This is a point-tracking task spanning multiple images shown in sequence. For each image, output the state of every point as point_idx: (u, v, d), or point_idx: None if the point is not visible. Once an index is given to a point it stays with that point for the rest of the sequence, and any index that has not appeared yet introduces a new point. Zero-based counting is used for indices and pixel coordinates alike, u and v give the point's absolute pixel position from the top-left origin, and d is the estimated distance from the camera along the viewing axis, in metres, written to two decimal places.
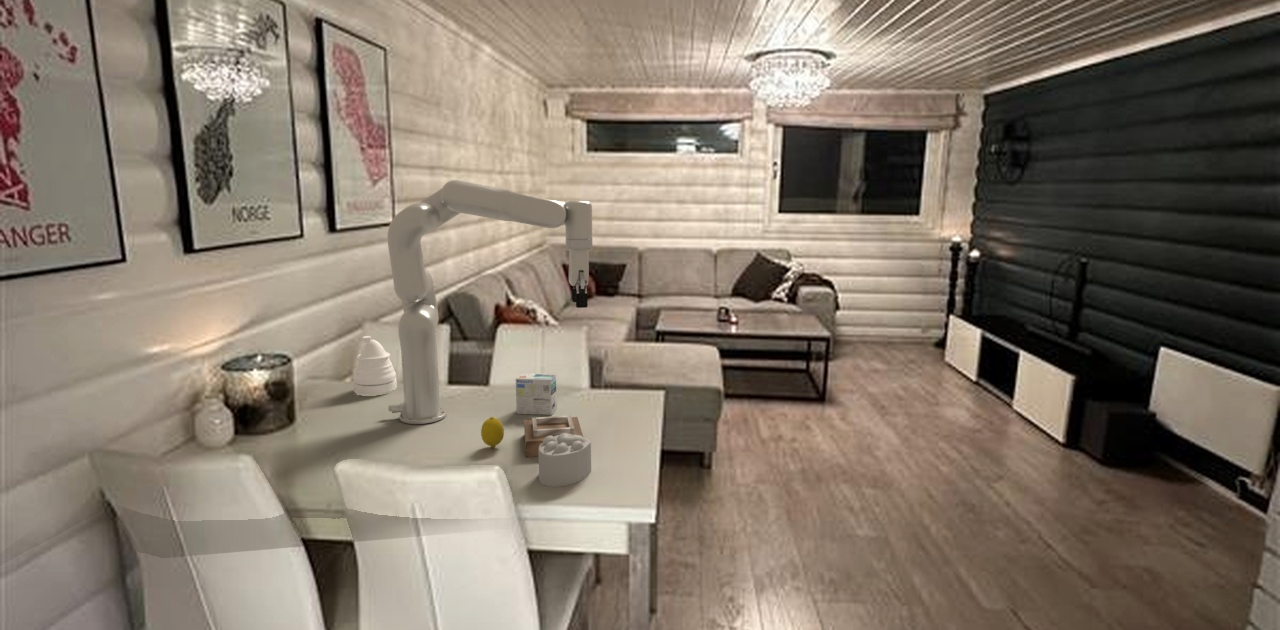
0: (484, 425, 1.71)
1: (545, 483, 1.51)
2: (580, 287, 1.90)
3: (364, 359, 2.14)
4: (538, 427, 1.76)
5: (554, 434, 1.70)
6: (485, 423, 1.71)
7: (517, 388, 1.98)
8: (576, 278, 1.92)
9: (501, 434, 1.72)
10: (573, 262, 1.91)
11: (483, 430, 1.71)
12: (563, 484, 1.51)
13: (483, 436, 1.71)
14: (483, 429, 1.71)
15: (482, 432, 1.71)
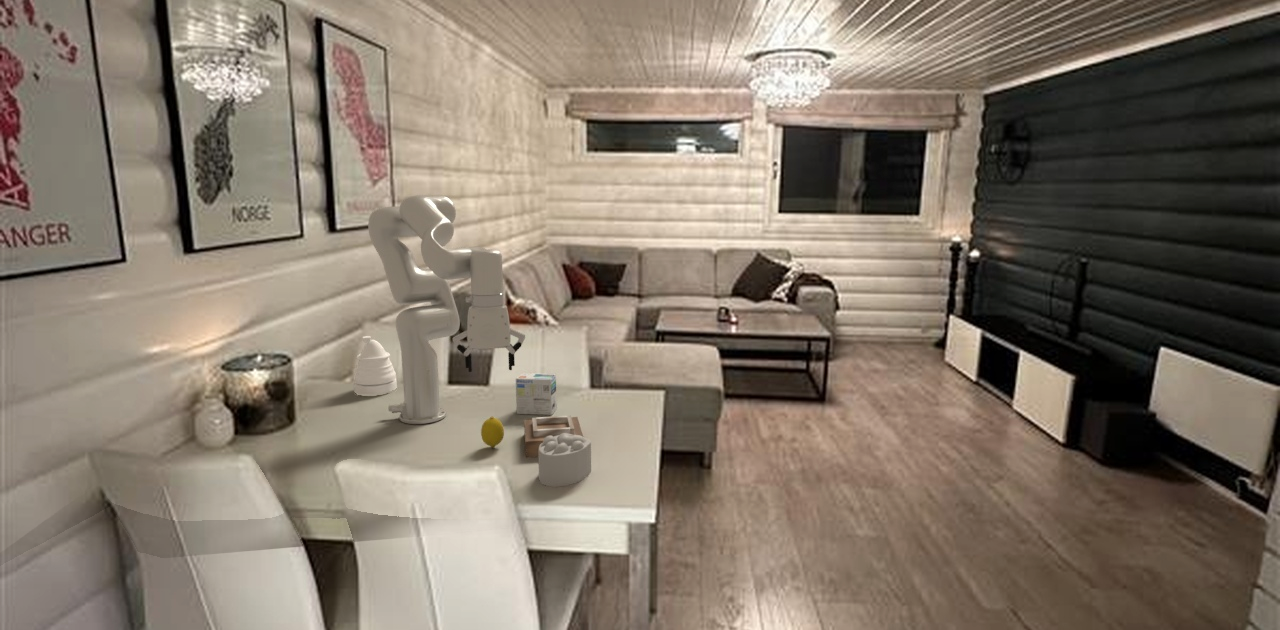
0: (484, 425, 1.71)
1: (545, 483, 1.51)
2: (521, 344, 1.69)
3: (364, 359, 2.14)
4: (538, 427, 1.76)
5: (554, 434, 1.70)
6: (485, 423, 1.71)
7: (517, 388, 1.98)
8: (510, 337, 1.68)
9: (501, 434, 1.72)
10: (507, 320, 1.66)
11: (483, 430, 1.71)
12: (563, 484, 1.51)
13: (483, 436, 1.71)
14: (483, 429, 1.71)
15: (482, 432, 1.71)
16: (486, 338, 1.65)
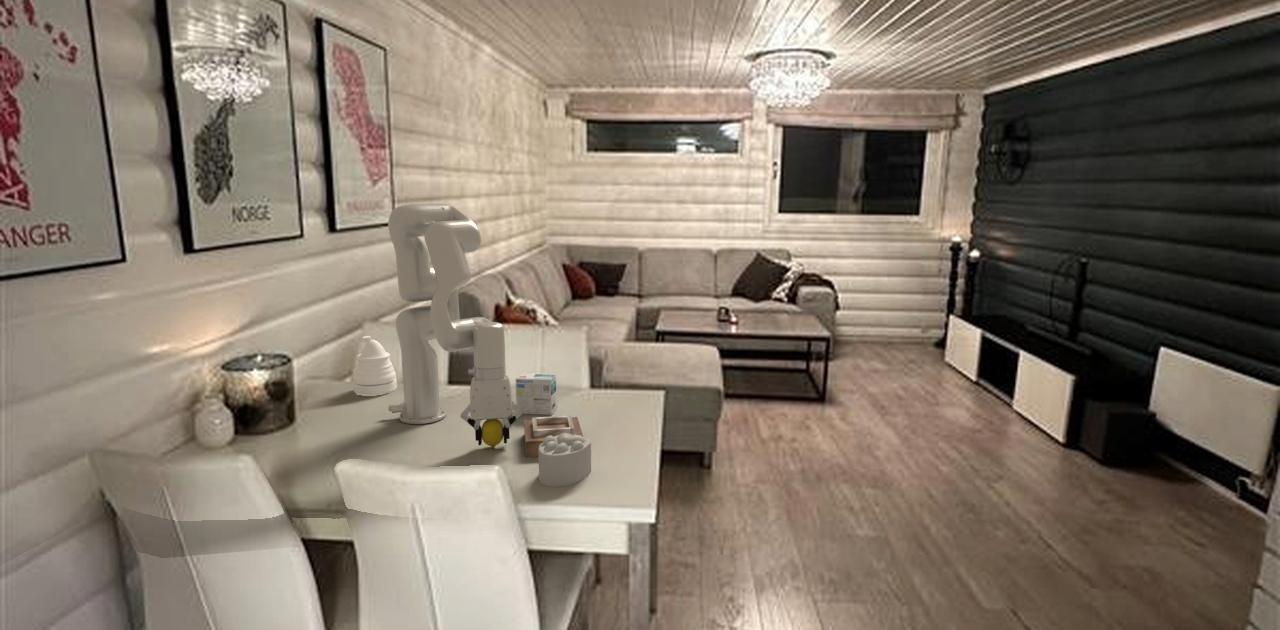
0: (484, 425, 1.71)
1: (545, 483, 1.51)
2: (515, 419, 1.72)
3: (364, 359, 2.14)
4: (538, 427, 1.76)
5: (554, 434, 1.70)
6: (485, 423, 1.71)
7: (517, 388, 1.98)
8: None
9: (501, 434, 1.72)
10: (510, 391, 1.69)
11: (483, 430, 1.71)
12: (563, 484, 1.51)
13: (483, 436, 1.71)
14: (483, 429, 1.71)
15: (482, 432, 1.71)
16: (488, 409, 1.69)
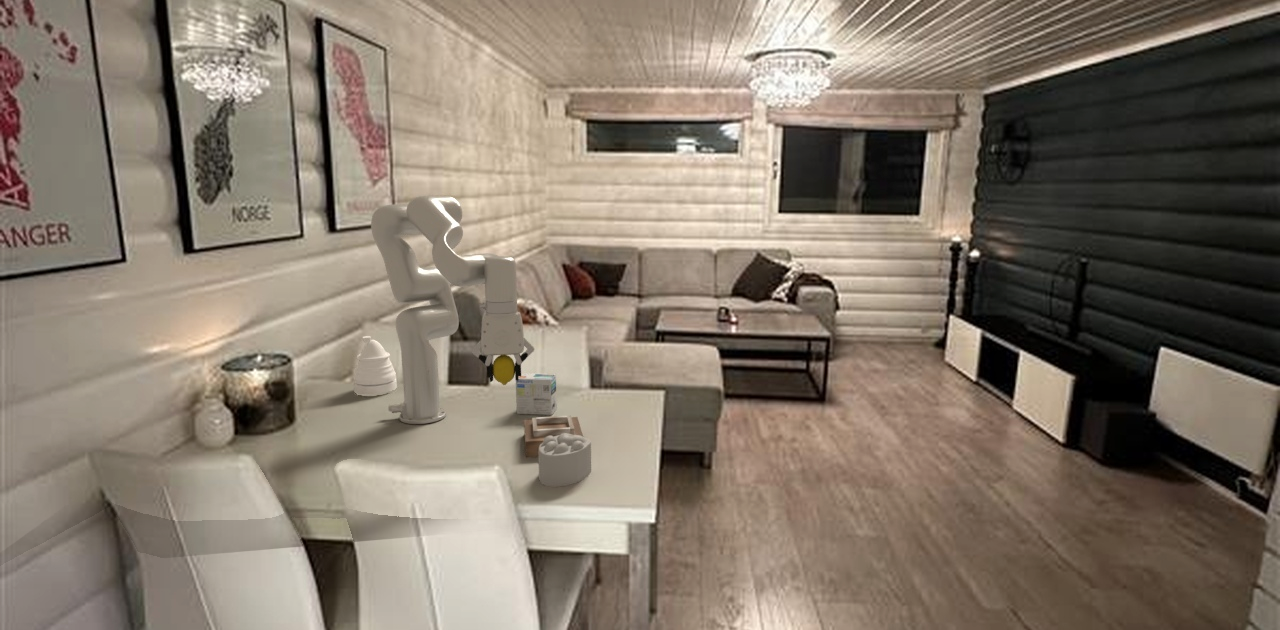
0: (495, 361, 1.68)
1: (545, 483, 1.51)
2: (527, 356, 1.70)
3: (364, 359, 2.14)
4: (538, 427, 1.76)
5: (554, 434, 1.70)
6: (496, 359, 1.68)
7: (517, 388, 1.98)
8: None
9: (513, 371, 1.69)
10: (521, 326, 1.67)
11: (494, 366, 1.68)
12: (563, 484, 1.51)
13: (494, 372, 1.68)
14: (494, 365, 1.68)
15: (493, 368, 1.68)
16: (500, 344, 1.66)
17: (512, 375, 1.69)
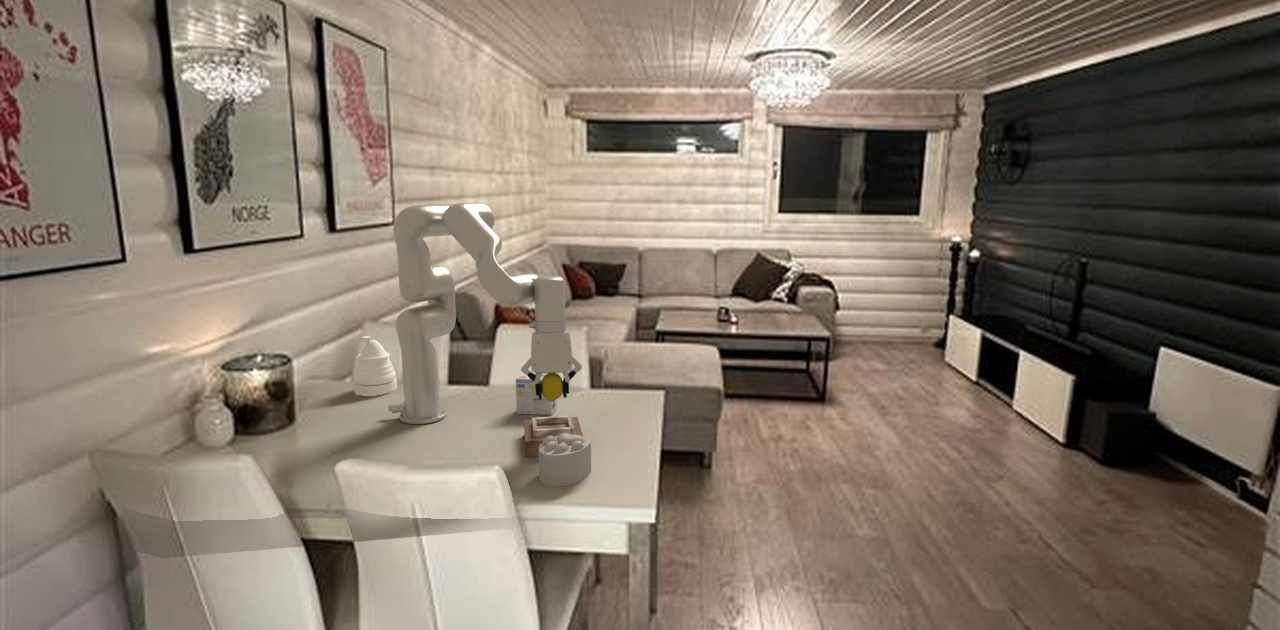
0: (544, 379, 1.71)
1: (545, 483, 1.51)
2: (575, 373, 1.73)
3: (364, 359, 2.14)
4: (538, 427, 1.76)
5: (554, 434, 1.70)
6: (545, 377, 1.72)
7: (517, 388, 1.98)
8: None
9: (561, 388, 1.72)
10: (570, 345, 1.70)
11: (543, 384, 1.71)
12: (563, 484, 1.51)
13: (543, 390, 1.71)
14: (543, 383, 1.71)
15: (542, 386, 1.72)
16: (549, 363, 1.69)
17: (561, 392, 1.72)
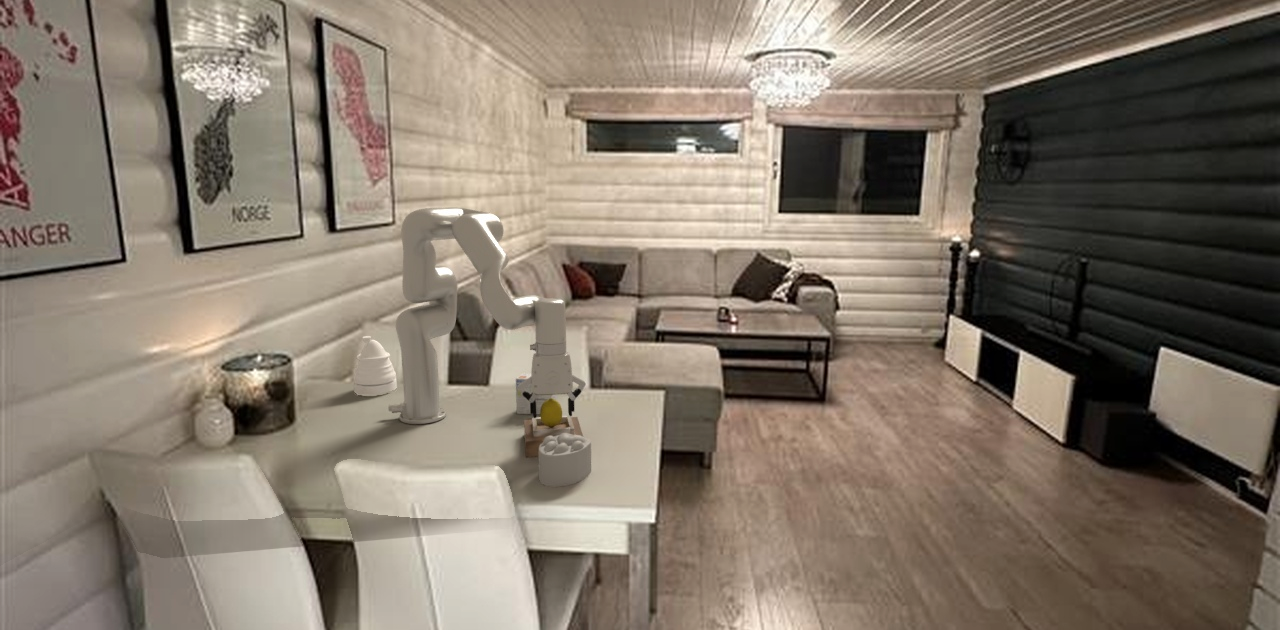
0: (543, 406, 1.73)
1: (545, 483, 1.51)
2: (580, 391, 1.74)
3: (364, 359, 2.14)
4: (538, 427, 1.76)
5: (554, 434, 1.70)
6: (544, 404, 1.73)
7: (517, 388, 1.98)
8: None
9: (560, 415, 1.74)
10: (570, 367, 1.71)
11: (543, 411, 1.73)
12: (563, 484, 1.51)
13: (543, 417, 1.73)
14: (543, 410, 1.73)
15: (541, 413, 1.73)
16: (550, 385, 1.70)
17: (560, 419, 1.74)
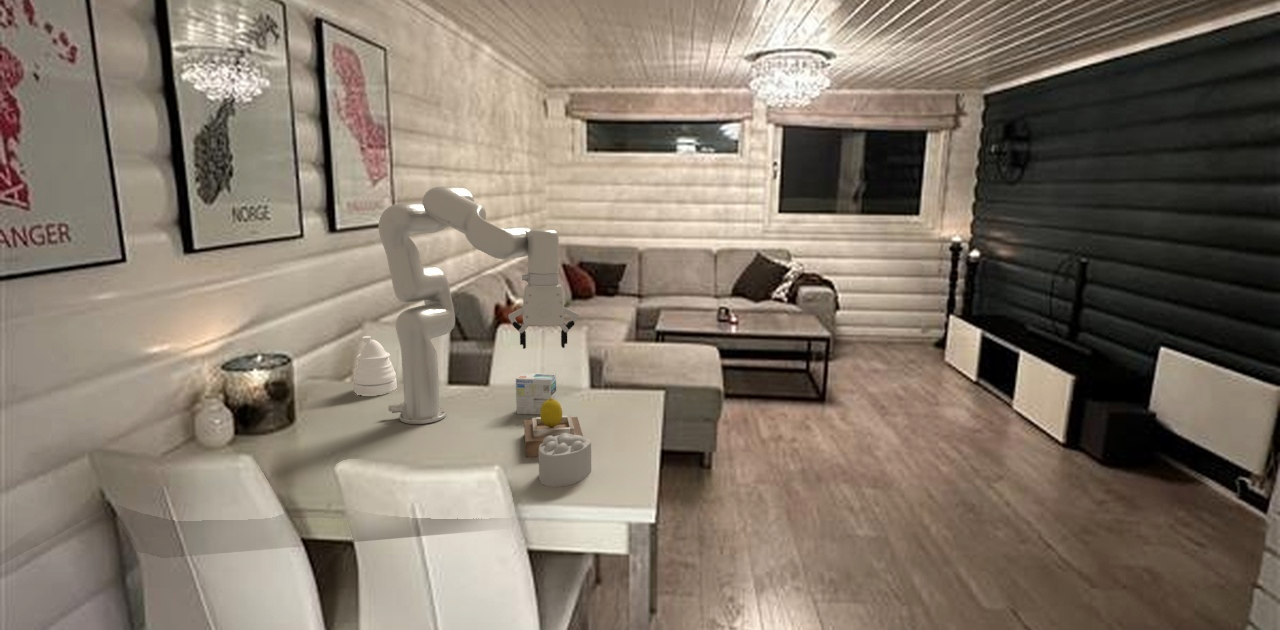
0: (543, 406, 1.73)
1: (545, 483, 1.51)
2: (574, 323, 1.73)
3: (364, 359, 2.14)
4: (538, 427, 1.76)
5: (554, 434, 1.70)
6: (544, 404, 1.73)
7: (517, 388, 1.98)
8: None
9: (560, 415, 1.74)
10: (562, 298, 1.70)
11: (543, 411, 1.73)
12: (564, 484, 1.51)
13: (543, 417, 1.73)
14: (543, 410, 1.73)
15: (541, 413, 1.73)
16: (541, 316, 1.69)
17: (560, 419, 1.74)
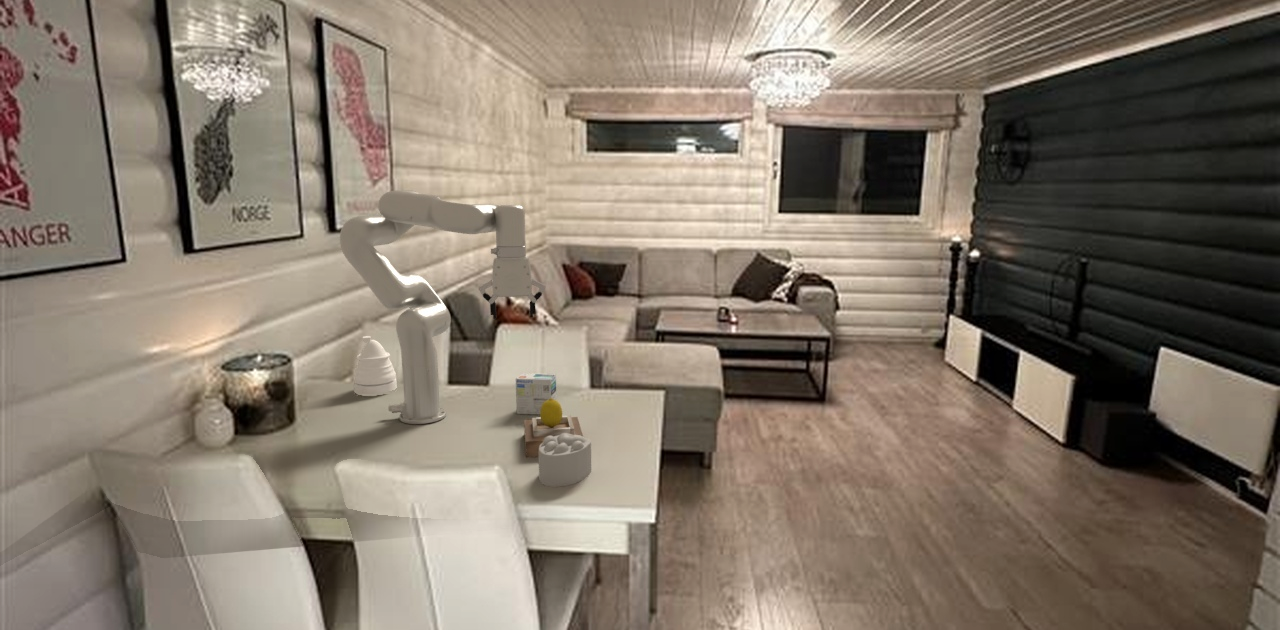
0: (543, 406, 1.73)
1: (545, 483, 1.51)
2: (541, 294, 1.83)
3: (364, 359, 2.14)
4: (538, 427, 1.76)
5: (554, 434, 1.70)
6: (544, 404, 1.73)
7: (517, 388, 1.98)
8: (531, 286, 1.81)
9: (560, 415, 1.74)
10: (529, 270, 1.80)
11: (543, 411, 1.73)
12: (564, 484, 1.51)
13: (543, 417, 1.73)
14: (543, 410, 1.73)
15: (541, 413, 1.73)
16: (510, 287, 1.79)
17: (560, 419, 1.74)
